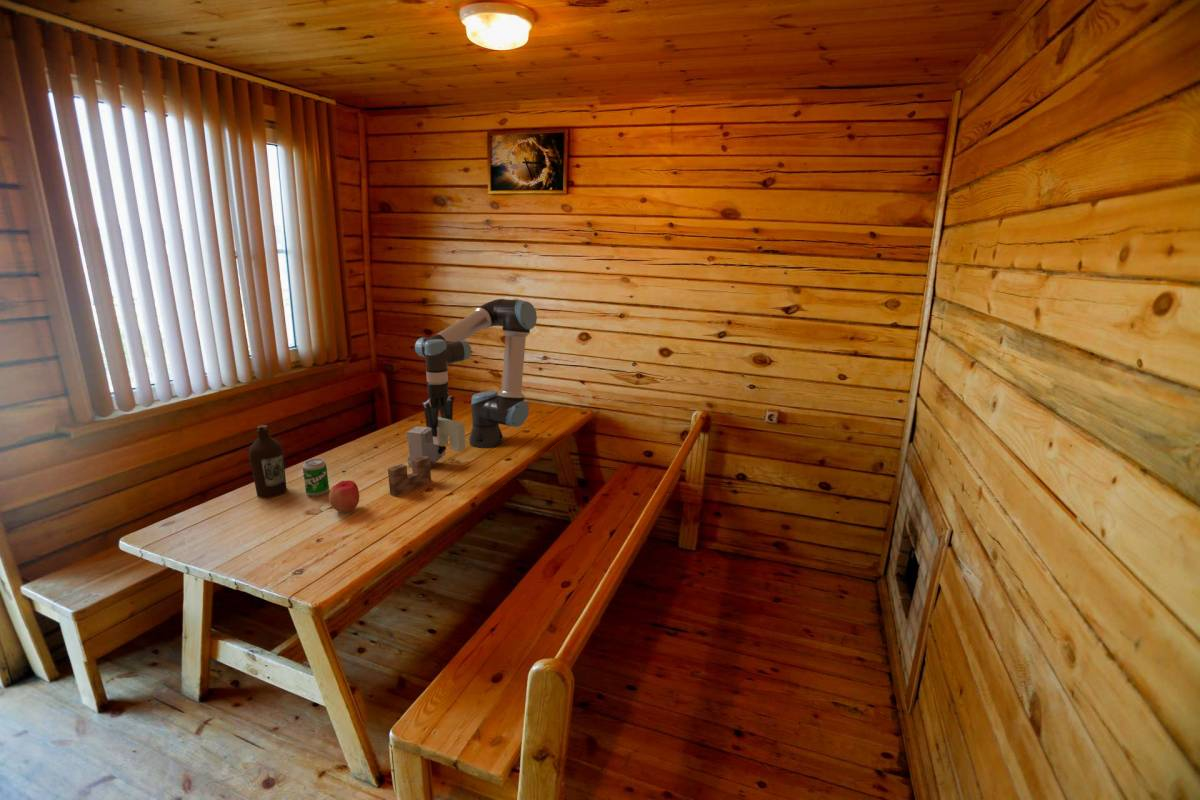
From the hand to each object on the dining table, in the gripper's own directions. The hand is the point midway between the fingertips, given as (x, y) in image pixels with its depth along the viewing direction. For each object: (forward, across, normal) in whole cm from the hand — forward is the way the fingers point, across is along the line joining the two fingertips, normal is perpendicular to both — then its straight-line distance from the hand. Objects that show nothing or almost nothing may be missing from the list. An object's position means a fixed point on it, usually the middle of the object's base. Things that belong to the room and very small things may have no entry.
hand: (440, 442), depth 217 cm
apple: (+15, +37, -6) cm, 40 cm away
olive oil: (+15, +44, -40) cm, 61 cm away
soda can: (+15, +34, -27) cm, 46 cm away
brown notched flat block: (+15, +12, -3) cm, 20 cm away
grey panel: (+1, 0, +4) cm, 5 cm away
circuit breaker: (+15, -6, -15) cm, 22 cm away
